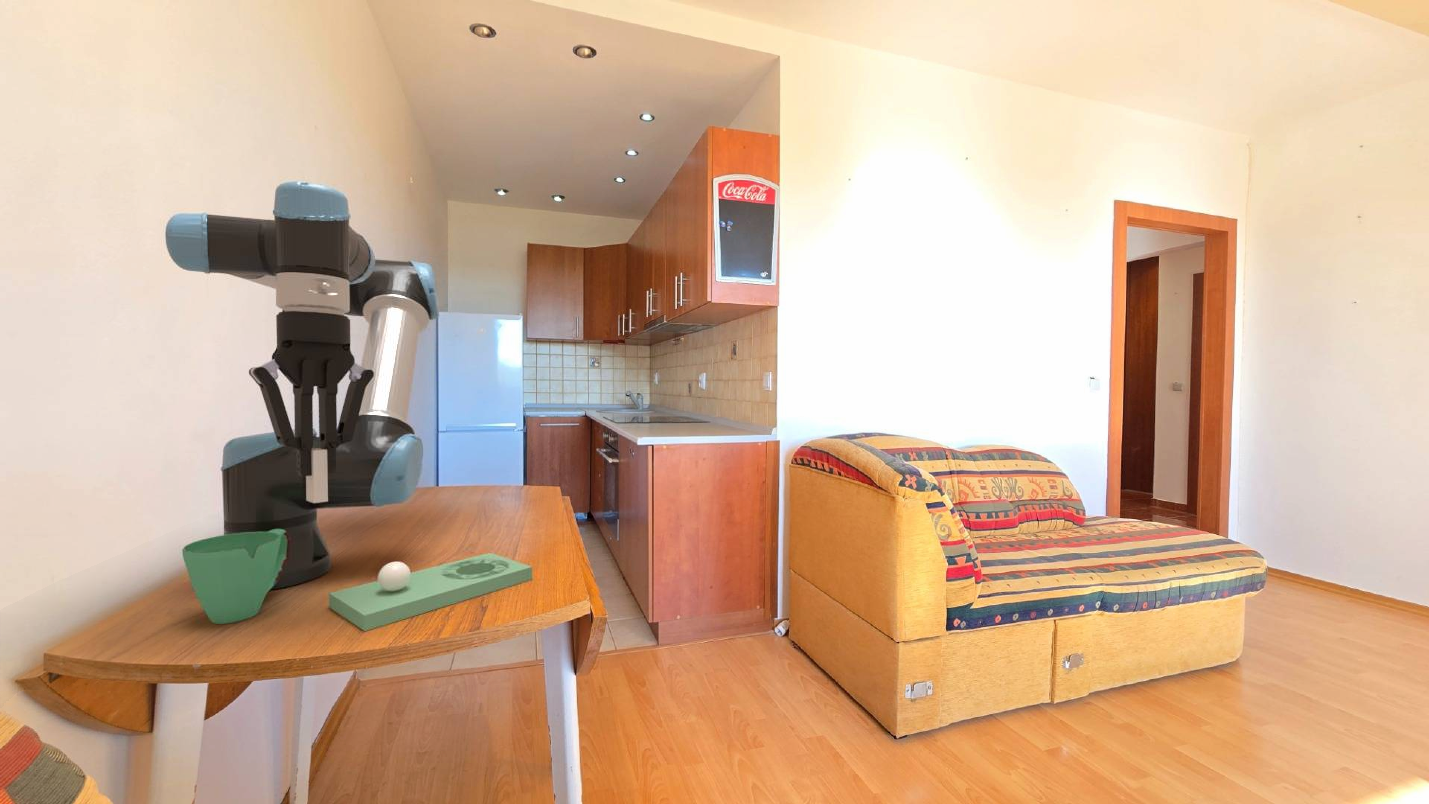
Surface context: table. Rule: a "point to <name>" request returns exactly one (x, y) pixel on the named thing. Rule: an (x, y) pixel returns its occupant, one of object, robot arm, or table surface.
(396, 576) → the ball
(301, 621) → the table surface
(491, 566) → the green rectangular board
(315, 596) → the table surface
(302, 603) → the table surface
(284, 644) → the table surface
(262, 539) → the mug
